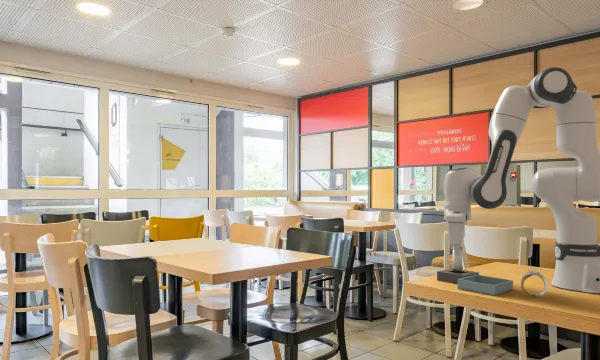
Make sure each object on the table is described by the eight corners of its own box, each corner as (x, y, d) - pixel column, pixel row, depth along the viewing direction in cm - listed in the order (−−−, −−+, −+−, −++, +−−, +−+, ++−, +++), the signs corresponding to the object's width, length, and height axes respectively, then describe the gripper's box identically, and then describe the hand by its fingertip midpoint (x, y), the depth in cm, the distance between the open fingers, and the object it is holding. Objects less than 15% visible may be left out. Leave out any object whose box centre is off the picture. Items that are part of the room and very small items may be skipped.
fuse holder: (452, 276, 162) (452, 268, 162) (479, 281, 154) (479, 272, 154) (437, 280, 155) (437, 271, 155) (463, 284, 148) (463, 275, 148)
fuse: (460, 269, 158) (461, 246, 158) (462, 270, 154) (463, 247, 155) (451, 269, 158) (451, 246, 158) (453, 270, 155) (453, 247, 155)
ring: (546, 297, 132) (546, 269, 132) (548, 299, 129) (548, 271, 129) (520, 294, 134) (520, 268, 134) (521, 297, 131) (521, 269, 131)
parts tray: (476, 283, 150) (476, 274, 150) (513, 290, 141) (513, 280, 141) (457, 288, 142) (457, 279, 142) (494, 295, 133) (494, 285, 133)
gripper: (450, 211, 167) (451, 248, 167) (445, 217, 148) (445, 258, 149) (468, 212, 165) (469, 249, 165) (465, 217, 146) (465, 259, 146)
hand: (457, 254), depth 156 cm, fingers closed on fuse, 3 cm apart
